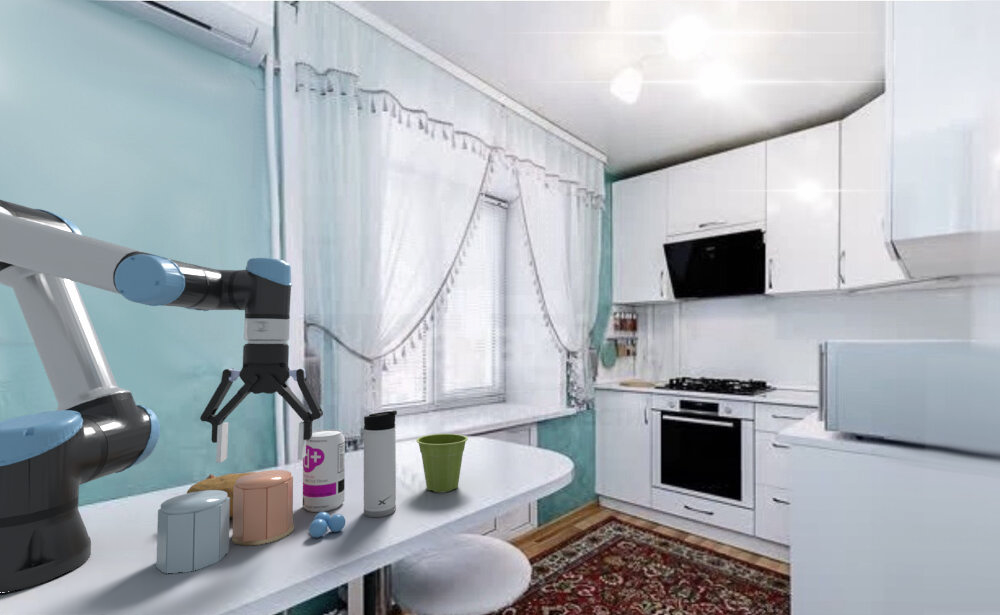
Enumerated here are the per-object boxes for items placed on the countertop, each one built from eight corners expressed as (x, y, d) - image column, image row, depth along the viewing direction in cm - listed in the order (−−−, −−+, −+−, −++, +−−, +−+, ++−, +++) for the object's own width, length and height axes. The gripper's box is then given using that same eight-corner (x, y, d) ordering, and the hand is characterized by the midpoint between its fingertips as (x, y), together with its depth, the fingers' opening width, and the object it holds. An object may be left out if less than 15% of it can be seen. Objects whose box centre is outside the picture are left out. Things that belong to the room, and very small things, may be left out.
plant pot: (477, 489, 105) (477, 439, 106) (430, 500, 98) (430, 447, 99) (453, 476, 115) (452, 431, 115) (408, 486, 108) (408, 437, 109)
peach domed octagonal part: (226, 543, 78) (227, 487, 78) (245, 522, 87) (246, 471, 87) (282, 538, 79) (283, 483, 80) (296, 518, 88) (296, 468, 89)
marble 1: (311, 533, 83) (311, 516, 83) (315, 526, 86) (315, 510, 86) (329, 531, 83) (329, 514, 83) (332, 525, 86) (332, 508, 86)
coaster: (222, 548, 77) (222, 544, 77) (244, 524, 87) (244, 521, 87) (285, 542, 79) (285, 539, 79) (300, 520, 89) (300, 516, 89)
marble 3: (326, 535, 82) (326, 518, 82) (329, 528, 85) (329, 512, 85) (344, 534, 82) (344, 516, 82) (346, 527, 85) (346, 510, 85)
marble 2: (307, 541, 80) (307, 523, 80) (311, 533, 82) (311, 516, 83) (325, 539, 80) (325, 521, 80) (328, 532, 83) (328, 515, 83)
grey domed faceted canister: (146, 576, 69) (147, 512, 69) (177, 548, 77) (178, 492, 78) (212, 569, 70) (213, 507, 71) (235, 543, 79) (236, 488, 80)
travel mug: (389, 518, 89) (388, 413, 90) (357, 516, 90) (357, 413, 91) (402, 506, 95) (402, 408, 96) (372, 505, 96) (372, 408, 97)
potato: (188, 514, 93) (189, 474, 93) (267, 503, 99) (267, 465, 99) (178, 533, 84) (179, 488, 84) (265, 519, 90) (265, 477, 90)
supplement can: (319, 516, 91) (320, 438, 92) (294, 508, 95) (295, 434, 96) (352, 503, 98) (353, 431, 98) (327, 496, 102) (328, 427, 103)
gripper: (182, 342, 79) (175, 467, 78) (333, 343, 84) (329, 462, 82) (202, 341, 87) (196, 456, 85) (340, 342, 91) (337, 451, 90)
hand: (262, 459), depth 84 cm, fingers open, 13 cm apart
